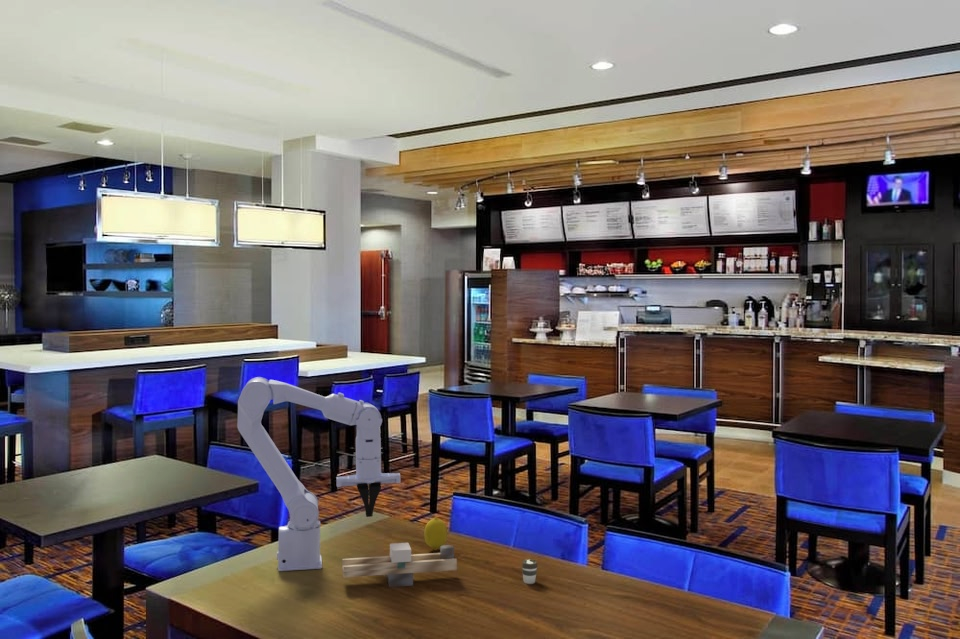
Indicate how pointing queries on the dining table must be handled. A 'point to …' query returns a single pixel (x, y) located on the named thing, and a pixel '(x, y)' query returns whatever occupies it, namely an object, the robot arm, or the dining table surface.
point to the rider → (400, 552)
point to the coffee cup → (529, 571)
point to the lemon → (435, 533)
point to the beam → (400, 566)
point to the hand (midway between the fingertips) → (369, 515)
